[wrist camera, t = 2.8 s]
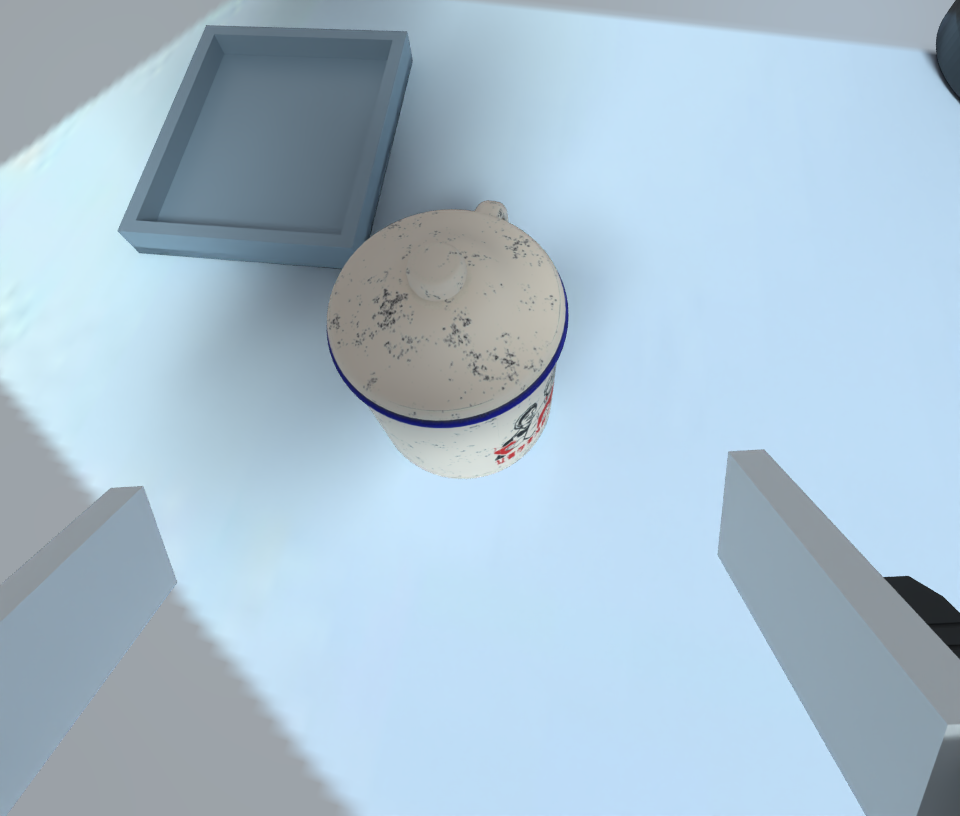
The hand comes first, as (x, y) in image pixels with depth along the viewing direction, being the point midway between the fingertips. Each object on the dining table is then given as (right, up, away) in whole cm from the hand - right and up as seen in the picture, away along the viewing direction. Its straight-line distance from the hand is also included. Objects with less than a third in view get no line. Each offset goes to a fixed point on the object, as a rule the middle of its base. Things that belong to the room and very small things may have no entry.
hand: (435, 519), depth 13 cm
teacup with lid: (+1, +4, +17) cm, 18 cm away
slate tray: (-11, +19, +23) cm, 32 cm away
